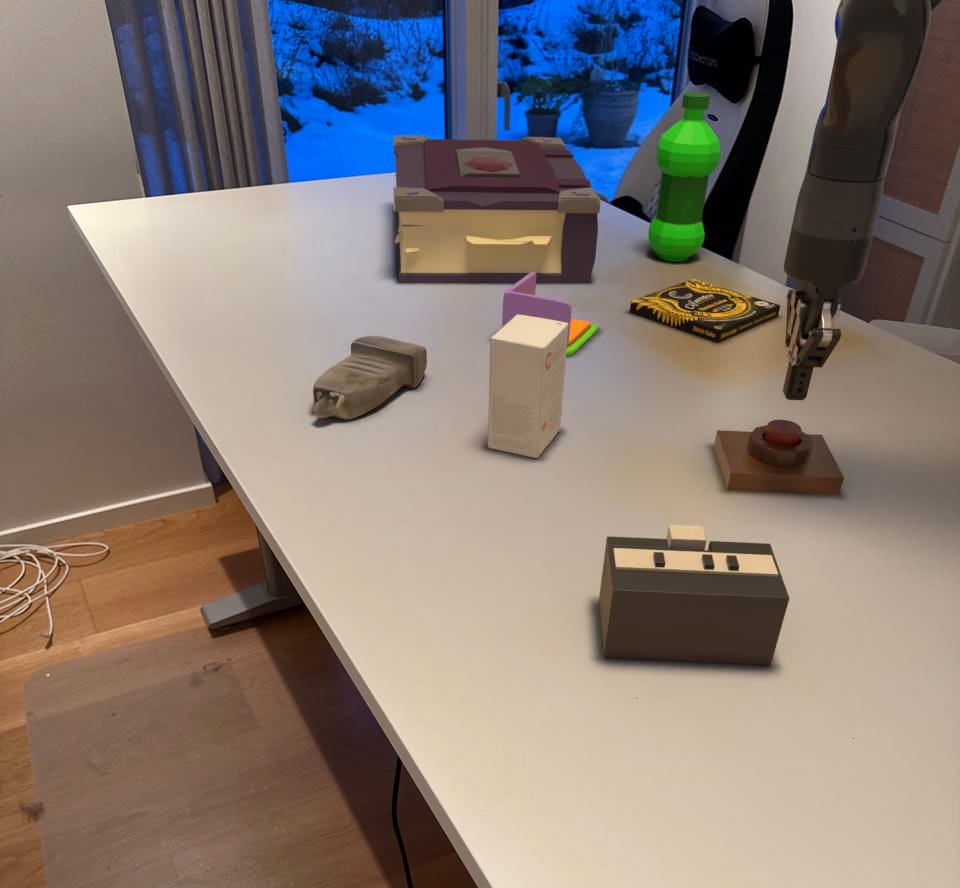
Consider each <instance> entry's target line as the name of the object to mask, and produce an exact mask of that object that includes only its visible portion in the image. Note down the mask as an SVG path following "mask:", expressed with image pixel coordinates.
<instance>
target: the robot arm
mask: <svg viewBox="0 0 960 888" xmlns="http://www.w3.org/2000/svg"><path fill="white" fill-rule="evenodd" d="M944 1H945V0H840V1H839V3H838V6H837V9H836V11H835V18H834V19H835V20H834V33H835V38H836V41H837V42H836V47H835V53H834V59H833V63H832V69H831V74H830V80H829V85H828V89H827V95H826V99H825V100H826V101H825V104H824V105H823V107H822V108H821V109H820V112H819V115H818V117H817V121H816V124H815V128H814V132H813V135H812V141H811V146H810V151H809V156H808V160H807V164H806V170H805V174H804V177H803V180H802V183H801V186H800V189H799V192H798V195H797V200H796V204H795V209H794V214H793V219H792V224H791V228H790V233H789V237H788V243H787V247H786V253H785V257H784V262H783V271H784V273H785V274H786V276H787V277H789V278H790V279H793V280H794V281H797V287H796V288H797V289H789V290H788V293H786V299H787V301H786V319H785V320H786V321H785V322H786V323H785V340H784V343H785V344H784V345H785V347H786V348H788V351H787V354H786V355H787V359H788V360H789V361H788V365H787V369H786V373H785V374H786V375H785V378H784V383H783V388H782V393H783V395H784V397H785V399H786V400H787V401H804V400H806V398H807V396H808V393H809V388H810V384H811V380H812V376H813V371H814V368H823V367H824V365H825V363H826V362H827V360H828V359H829V357H830V356H831V354H832V353H833V352H834V349H835V348H836V347H837V345H838V343H839V341H840V340H841V337H842V331H841V329H840V328H833V327H834V325H835V321H836V320H837V319H838V318H839V315H840V311H841V308H842V305H841V304H842V301H841V300H840V295H841V294H840V291H841V290H842V289H843V288H844V287H847V286H848V285H850V286H851V285H854V284H856V283H858V282H859V281H861V279H862V278H863V277H864V273H865V269H866V265H867V262H868V258H869V255H870V249H871V246H872V243H873V238H874V235H875V232H876V231H875V230H876V226H877V223H878V220H879V215H880V212H881V211H880V210H881V207H882V203H883V195H884V185H885V181H886V177H887V173H888V172H887V171H888V168H889V164H890V161H891V156H892V152H893V149H894V144H895V140H896V136H897V131H898V126H899V120H900V115H901V114H902V111H903V109H904V105H905V103H906V101H907V99H908V95H909V93H910V90H911V87H912V84H913V83H914V79H915V77H916V73H917V71H918V68H919V66H920V62H921V59H922V55H923V52H924V48H925V46H926V42H927V38H928V33H929V30H930V25H931V18H932V13H934V12H935V10H936V9H937V8H938V7H939V6H940V5H941V4H942V3H943V2H944Z"/></svg>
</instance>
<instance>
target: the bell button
mask: <svg viewBox="0 0 960 888" xmlns="http://www.w3.org/2000/svg"><path fill="white" fill-rule="evenodd" d="M766 425H767V429H766V433H765V437H764V440H765V441H767V442H768V443H770V444H772V445H776V446H780V447H793V446H797V445H798V441H799V437H800V434H801V431H802V427H801V426H800V425H799V424H798V423H797V422H795V421H791V420H788V419H773V420H770V421H769V422H767V424H766Z"/></svg>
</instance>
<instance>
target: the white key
mask: <svg viewBox="0 0 960 888" xmlns="http://www.w3.org/2000/svg"><path fill="white" fill-rule="evenodd" d="M665 539H667V540H668V545H669V549H686V550H706V545H707V537H706V533H705V529H704V526H703V525H684V524H668V528H667V532H666V538H665Z"/></svg>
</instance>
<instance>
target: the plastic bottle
mask: <svg viewBox="0 0 960 888" xmlns="http://www.w3.org/2000/svg"><path fill="white" fill-rule="evenodd" d="M710 97H711V95H710V94H709V93H705V92H695V91H694V92H691V91H689V92H683V95H682V100H681V108H683V109H684V110H683V117H682V118H681V119H680V120H679V121H677V122H676V123H675V124H673V125H672V126H671V127H669V128H668V129H667V130H666V131H665V132H664V133H662V135H661V136H660V138H659V140H658V143H657V146H656V147H657V149H656V162H657V166H658V168H659V169H660V171H661V176H660V183H659V191H658V199H657V204H656V205H657V207H656V214H655V216H654V217H653V219H652V220H651V222H650V224H649V227H648V241H649V246H650V247H651V250H652V251H653V252H654V253H655V255H657V257H658V258H659V259H661V260H663V261H666V262H667V261H668V262H673V263H674V262H675V263H676V262H684V261H687V260H688V259H689V258H690V257H692V256H693V255H695V254H696V253H697V252H698V251H699V250H700V249H701V248H702V246H703V244H704V242H705V236H706V233H705V227H704V223H703V214H704V209H705V208H704V207H705V201H706V195H707V189H708V182H709V177H710V175H711V174H712V173H713V172H714V171H715V170H717V168H718V165H719V161H720V158H721V151H722V150H721V145H720V140H719V137H718V136H717V135H716V133H715V132H714V131H713V129H712V128H711V126H709V124H708V123H707V122H706V121H705V119H704V116H705V110H708V109H709V105H710Z"/></svg>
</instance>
